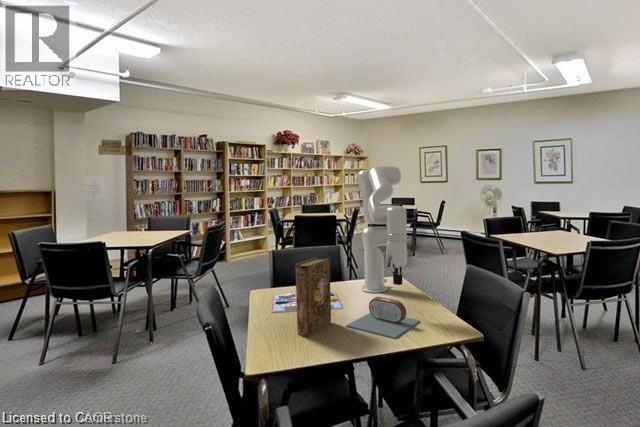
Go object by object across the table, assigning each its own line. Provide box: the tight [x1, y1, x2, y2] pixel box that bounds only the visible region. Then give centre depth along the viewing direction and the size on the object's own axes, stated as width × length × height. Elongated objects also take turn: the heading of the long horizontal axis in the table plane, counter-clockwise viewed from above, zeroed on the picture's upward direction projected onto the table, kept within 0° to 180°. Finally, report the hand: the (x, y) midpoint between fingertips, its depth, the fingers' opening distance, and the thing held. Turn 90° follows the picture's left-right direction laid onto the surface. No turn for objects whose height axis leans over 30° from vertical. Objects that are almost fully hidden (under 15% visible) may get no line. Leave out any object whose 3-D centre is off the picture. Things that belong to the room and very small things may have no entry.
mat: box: [346, 312, 421, 340], centre depth 142 cm, size 20×20×1 cm
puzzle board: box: [271, 291, 343, 314], centre depth 172 cm, size 30×23×3 cm
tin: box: [368, 296, 407, 323], centre depth 144 cm, size 15×3×8 cm, turn 51°
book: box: [295, 257, 332, 338], centre depth 139 cm, size 16×6×25 cm, turn 150°
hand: (397, 284), depth 150 cm, fingers closed
